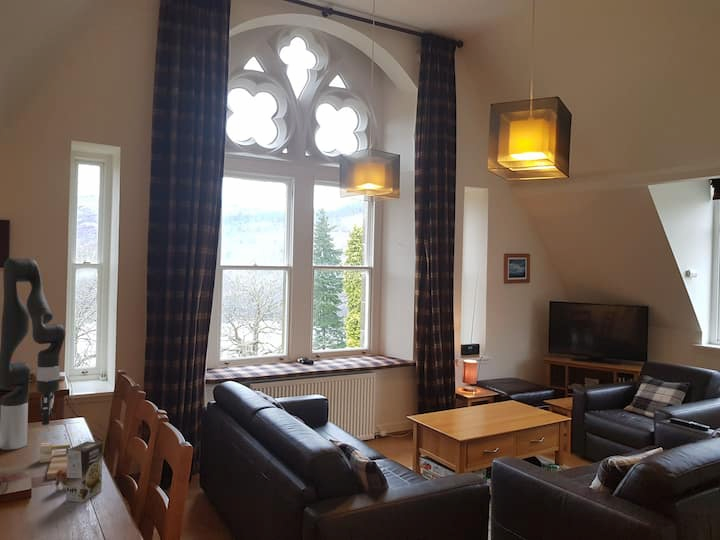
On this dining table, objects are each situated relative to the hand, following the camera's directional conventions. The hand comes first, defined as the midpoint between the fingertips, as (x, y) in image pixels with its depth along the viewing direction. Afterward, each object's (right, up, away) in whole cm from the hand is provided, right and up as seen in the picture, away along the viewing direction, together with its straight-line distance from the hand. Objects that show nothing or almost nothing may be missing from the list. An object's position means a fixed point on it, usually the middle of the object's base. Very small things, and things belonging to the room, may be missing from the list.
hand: (46, 421), depth 204 cm
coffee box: (+28, -16, -29) cm, 44 cm away
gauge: (+2, -15, +1) cm, 15 cm away
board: (+7, -15, -5) cm, 17 cm away
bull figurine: (+21, -16, -21) cm, 33 cm away
